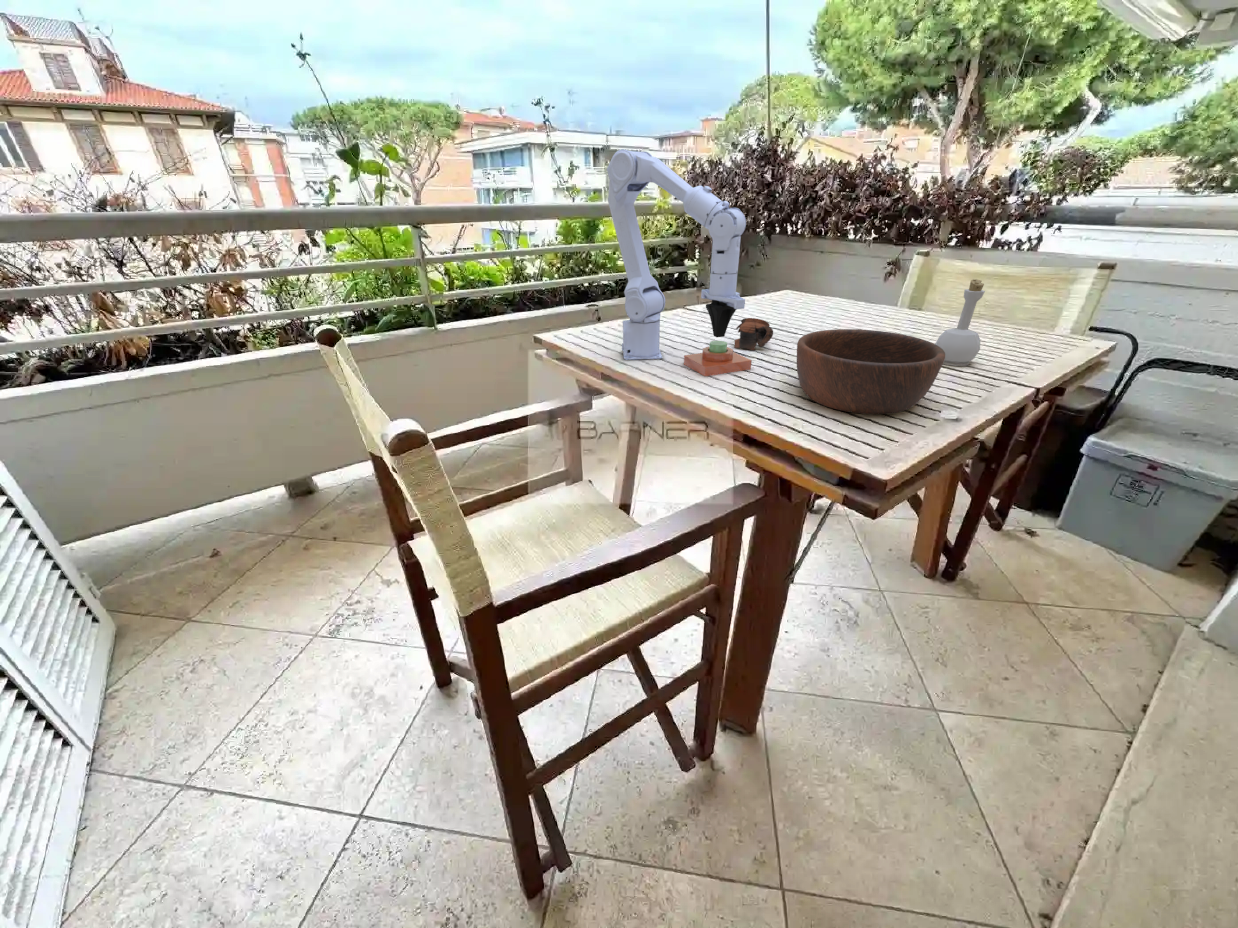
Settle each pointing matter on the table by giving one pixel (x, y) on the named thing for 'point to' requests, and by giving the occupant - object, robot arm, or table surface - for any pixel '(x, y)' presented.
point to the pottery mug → (753, 333)
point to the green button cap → (718, 346)
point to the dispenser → (717, 362)
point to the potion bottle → (963, 331)
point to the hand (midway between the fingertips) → (719, 336)
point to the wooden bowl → (867, 369)
